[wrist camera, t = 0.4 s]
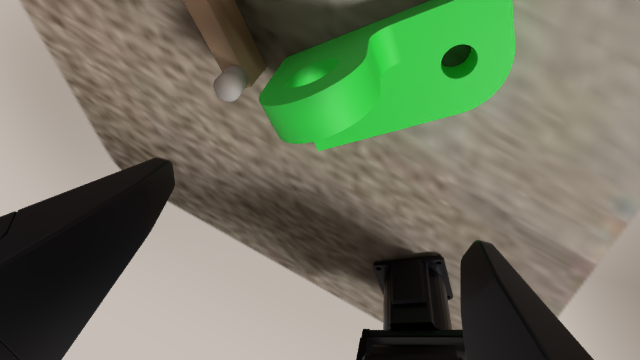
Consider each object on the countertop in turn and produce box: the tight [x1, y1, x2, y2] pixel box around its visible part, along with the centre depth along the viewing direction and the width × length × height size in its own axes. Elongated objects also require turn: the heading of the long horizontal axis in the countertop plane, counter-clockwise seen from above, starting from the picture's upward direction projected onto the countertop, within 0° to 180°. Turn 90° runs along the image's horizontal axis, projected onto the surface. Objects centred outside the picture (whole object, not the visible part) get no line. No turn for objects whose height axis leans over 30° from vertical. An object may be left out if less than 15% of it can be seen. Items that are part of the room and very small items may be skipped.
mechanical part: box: [259, 0, 515, 151], centre depth 17 cm, size 12×6×8 cm, turn 113°
